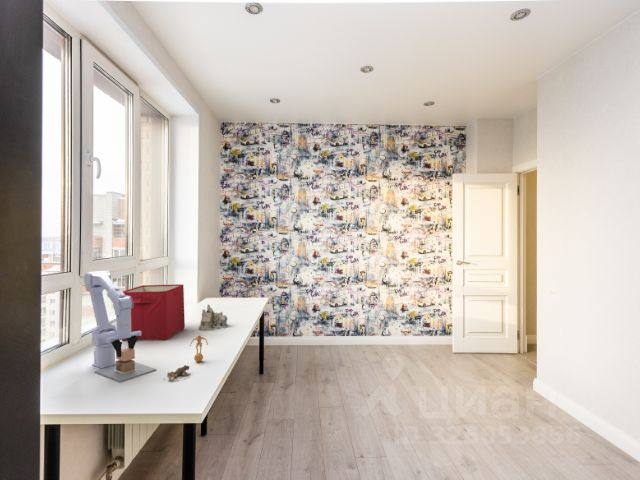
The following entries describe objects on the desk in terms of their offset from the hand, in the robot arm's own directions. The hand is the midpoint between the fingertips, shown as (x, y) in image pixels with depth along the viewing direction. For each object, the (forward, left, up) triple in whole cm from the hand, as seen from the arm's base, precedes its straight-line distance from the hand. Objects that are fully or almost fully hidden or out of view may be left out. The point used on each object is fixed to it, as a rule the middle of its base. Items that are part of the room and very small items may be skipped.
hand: (124, 355), depth 166 cm
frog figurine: (+26, +9, -8) cm, 28 cm away
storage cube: (-49, +44, -7) cm, 66 cm away
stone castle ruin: (-31, +73, -8) cm, 80 cm away
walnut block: (0, 0, -6) cm, 6 cm away
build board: (0, 0, -7) cm, 7 cm away
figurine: (+17, +26, -7) cm, 32 cm away
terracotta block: (0, 0, -2) cm, 2 cm away
